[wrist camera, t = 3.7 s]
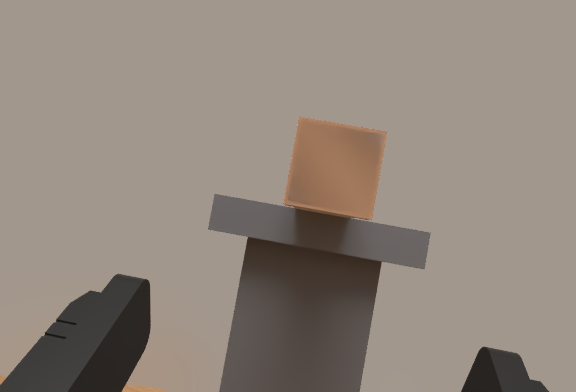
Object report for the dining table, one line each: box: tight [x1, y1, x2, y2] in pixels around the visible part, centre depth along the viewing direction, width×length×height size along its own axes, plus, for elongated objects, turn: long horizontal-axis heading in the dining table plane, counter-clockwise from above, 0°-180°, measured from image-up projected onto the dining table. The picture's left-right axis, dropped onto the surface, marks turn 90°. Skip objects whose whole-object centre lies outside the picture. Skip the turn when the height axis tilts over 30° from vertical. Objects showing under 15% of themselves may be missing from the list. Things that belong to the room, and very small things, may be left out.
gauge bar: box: [283, 117, 387, 220], centre depth 29 cm, size 24×3×3 cm, turn 177°
